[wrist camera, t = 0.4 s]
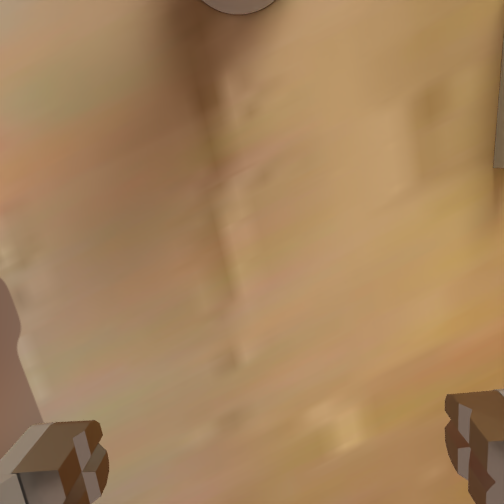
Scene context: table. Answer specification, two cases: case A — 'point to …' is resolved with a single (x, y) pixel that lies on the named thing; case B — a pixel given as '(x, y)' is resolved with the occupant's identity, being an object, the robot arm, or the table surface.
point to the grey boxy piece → (500, 123)
